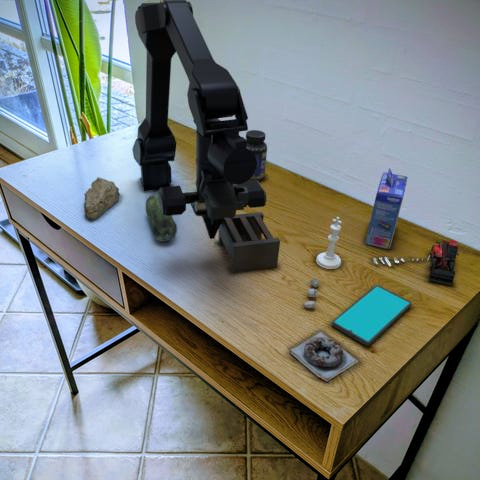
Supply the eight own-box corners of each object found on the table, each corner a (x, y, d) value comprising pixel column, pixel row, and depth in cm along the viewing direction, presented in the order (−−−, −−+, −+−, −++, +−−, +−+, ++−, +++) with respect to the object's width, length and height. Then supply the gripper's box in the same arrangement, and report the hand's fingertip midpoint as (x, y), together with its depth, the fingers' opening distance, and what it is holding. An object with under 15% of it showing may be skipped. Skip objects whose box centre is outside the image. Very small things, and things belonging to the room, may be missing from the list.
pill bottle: (264, 183, 122) (268, 139, 115) (240, 181, 122) (242, 137, 115) (264, 172, 127) (268, 129, 120) (240, 170, 127) (243, 127, 120)
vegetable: (140, 194, 105) (163, 187, 105) (147, 214, 108) (168, 208, 109) (151, 229, 95) (176, 221, 96) (158, 250, 99) (182, 243, 99)
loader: (452, 286, 94) (460, 266, 91) (427, 281, 95) (435, 261, 92) (451, 254, 103) (459, 234, 100) (428, 249, 104) (436, 230, 101)
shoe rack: (232, 272, 94) (234, 246, 90) (218, 241, 101) (219, 216, 97) (277, 267, 96) (280, 240, 92) (259, 237, 104) (262, 211, 100)
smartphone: (412, 302, 88) (368, 343, 80) (411, 306, 89) (367, 346, 80) (376, 284, 92) (331, 321, 83) (375, 287, 92) (330, 325, 84)
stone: (62, 204, 103) (72, 225, 106) (92, 199, 101) (102, 221, 104) (89, 178, 113) (98, 197, 116) (117, 173, 111) (125, 193, 114)
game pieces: (319, 283, 92) (309, 284, 93) (318, 274, 91) (308, 275, 91) (315, 312, 87) (304, 312, 87) (314, 303, 85) (303, 303, 86)
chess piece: (334, 272, 96) (344, 227, 89) (311, 263, 97) (320, 218, 91) (344, 260, 99) (355, 216, 92) (322, 252, 101) (331, 208, 94)
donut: (287, 350, 78) (289, 341, 77) (321, 332, 82) (323, 323, 81) (324, 383, 74) (327, 373, 72) (358, 361, 78) (361, 352, 76)
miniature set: (370, 259, 100) (373, 252, 99) (423, 256, 102) (426, 249, 101) (376, 268, 98) (379, 261, 96) (430, 264, 100) (433, 258, 99)
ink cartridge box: (369, 222, 111) (385, 160, 101) (394, 227, 110) (413, 165, 100) (363, 244, 104) (379, 180, 94) (389, 250, 103) (409, 185, 93)
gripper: (166, 184, 75) (170, 267, 86) (281, 175, 80) (271, 255, 90) (155, 154, 83) (160, 234, 93) (259, 147, 88) (253, 224, 98)
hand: (211, 237), depth 94 cm, fingers closed
